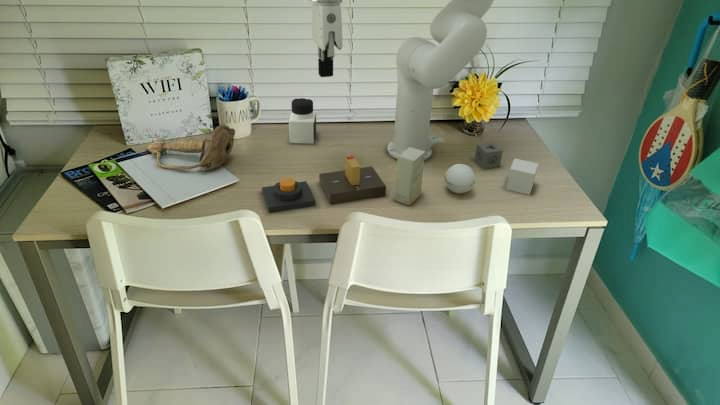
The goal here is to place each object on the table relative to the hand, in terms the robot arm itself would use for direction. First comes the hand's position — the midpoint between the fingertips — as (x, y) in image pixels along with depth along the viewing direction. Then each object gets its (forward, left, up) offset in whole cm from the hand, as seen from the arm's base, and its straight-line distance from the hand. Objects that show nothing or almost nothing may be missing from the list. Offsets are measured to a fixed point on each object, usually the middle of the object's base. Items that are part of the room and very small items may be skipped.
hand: (325, 75), depth 123 cm
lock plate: (-3, +13, -25) cm, 28 cm away
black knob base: (+13, +13, -25) cm, 31 cm away
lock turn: (-3, +13, -22) cm, 26 cm away
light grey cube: (-45, +23, -25) cm, 57 cm away
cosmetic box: (-15, +20, -25) cm, 36 cm away
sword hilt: (+35, -14, -25) cm, 45 cm away
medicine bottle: (+2, -18, -25) cm, 31 cm away
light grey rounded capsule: (-28, +22, -25) cm, 44 cm away
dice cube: (-43, +10, -25) cm, 51 cm away
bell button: (+13, +13, -22) cm, 29 cm away
